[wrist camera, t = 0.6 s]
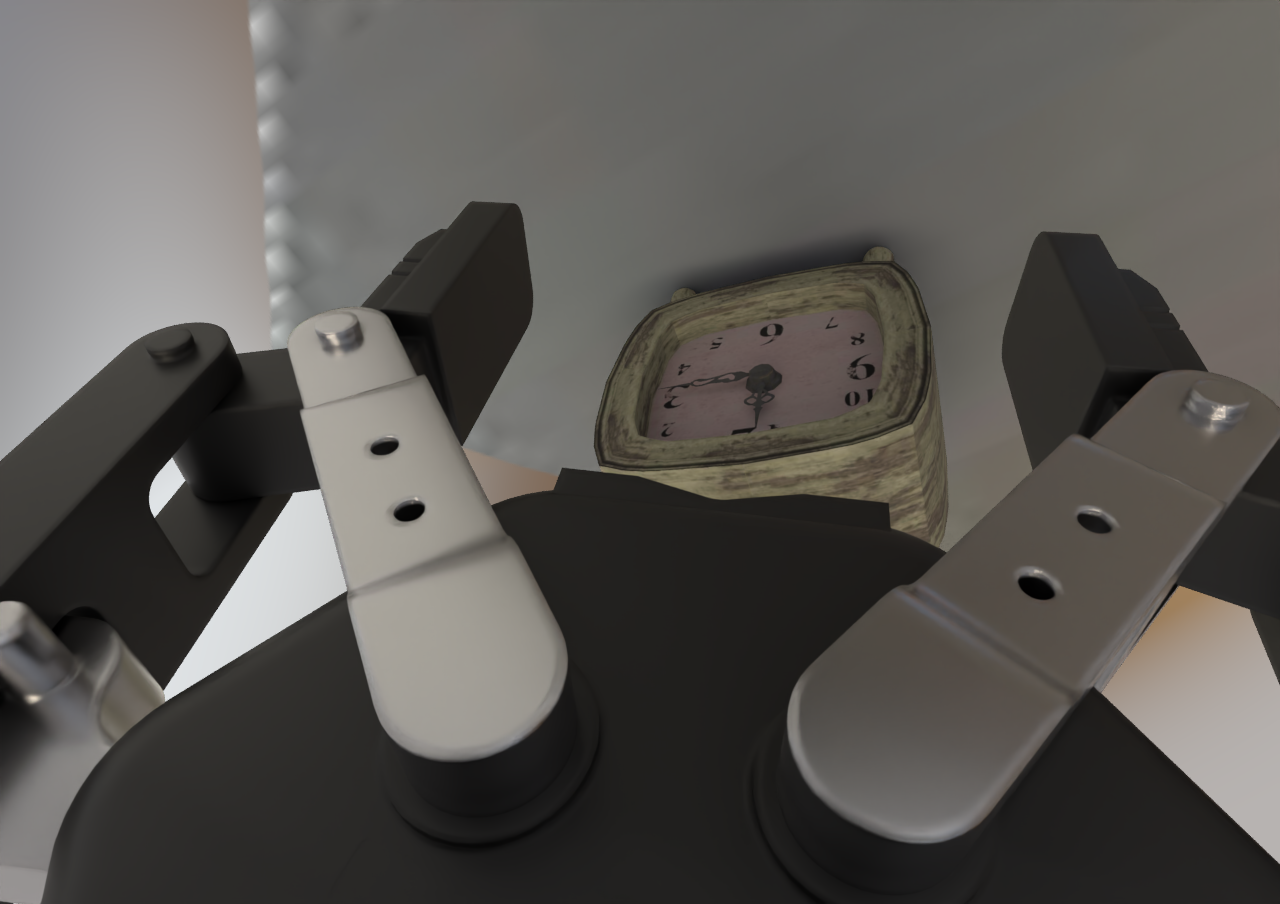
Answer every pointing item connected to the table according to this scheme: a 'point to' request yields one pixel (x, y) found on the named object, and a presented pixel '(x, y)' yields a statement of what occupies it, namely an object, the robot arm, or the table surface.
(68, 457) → the robot arm
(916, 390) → the tabletop clock
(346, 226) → the table surface
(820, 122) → the table surface
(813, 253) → the table surface
